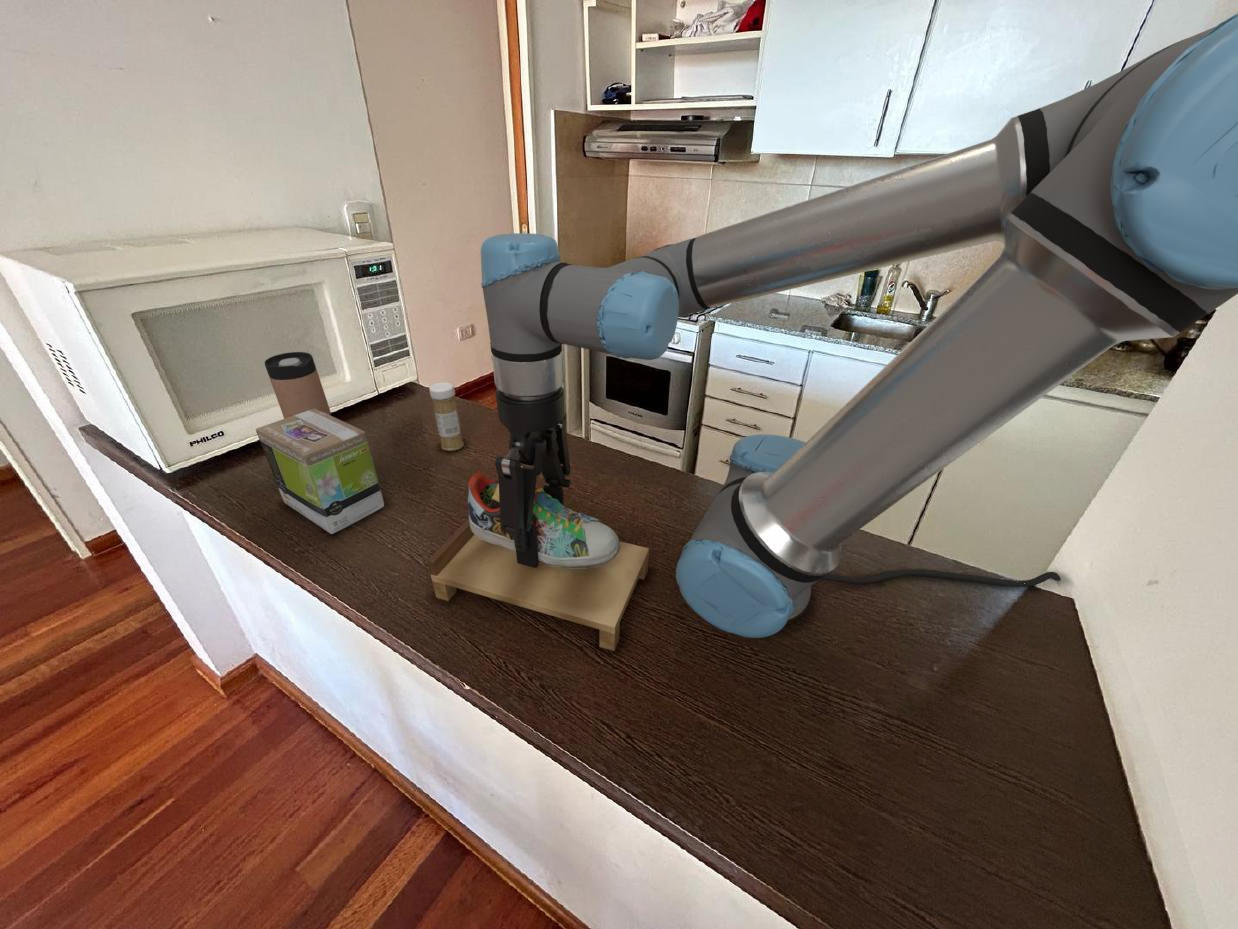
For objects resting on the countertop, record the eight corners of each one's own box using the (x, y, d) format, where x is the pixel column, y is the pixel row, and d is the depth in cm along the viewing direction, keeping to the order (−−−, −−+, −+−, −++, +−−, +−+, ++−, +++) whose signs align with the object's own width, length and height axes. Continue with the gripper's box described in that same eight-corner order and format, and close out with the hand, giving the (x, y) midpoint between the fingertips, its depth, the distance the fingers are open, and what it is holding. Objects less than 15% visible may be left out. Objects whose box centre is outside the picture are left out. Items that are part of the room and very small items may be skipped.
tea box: (387, 506, 87) (366, 429, 80) (331, 537, 80) (302, 456, 72) (338, 477, 94) (314, 405, 87) (282, 504, 87) (251, 427, 80)
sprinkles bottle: (464, 440, 107) (454, 380, 100) (463, 451, 103) (453, 389, 96) (441, 442, 106) (429, 382, 99) (440, 453, 102) (427, 391, 95)
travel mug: (304, 448, 103) (269, 353, 92) (345, 443, 105) (316, 349, 94) (295, 468, 97) (258, 368, 86) (340, 462, 99) (308, 364, 88)
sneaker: (607, 583, 63) (606, 521, 58) (458, 544, 69) (445, 485, 64) (626, 545, 69) (627, 485, 64) (487, 512, 75) (478, 455, 70)
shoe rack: (647, 570, 75) (650, 535, 72) (614, 651, 63) (615, 613, 60) (493, 531, 82) (488, 497, 78) (436, 597, 70) (427, 561, 66)
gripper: (540, 353, 66) (549, 497, 78) (446, 420, 49) (476, 589, 62) (594, 360, 64) (595, 507, 76) (515, 434, 47) (532, 605, 60)
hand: (542, 544), depth 69 cm, fingers closed on sneaker, 7 cm apart
